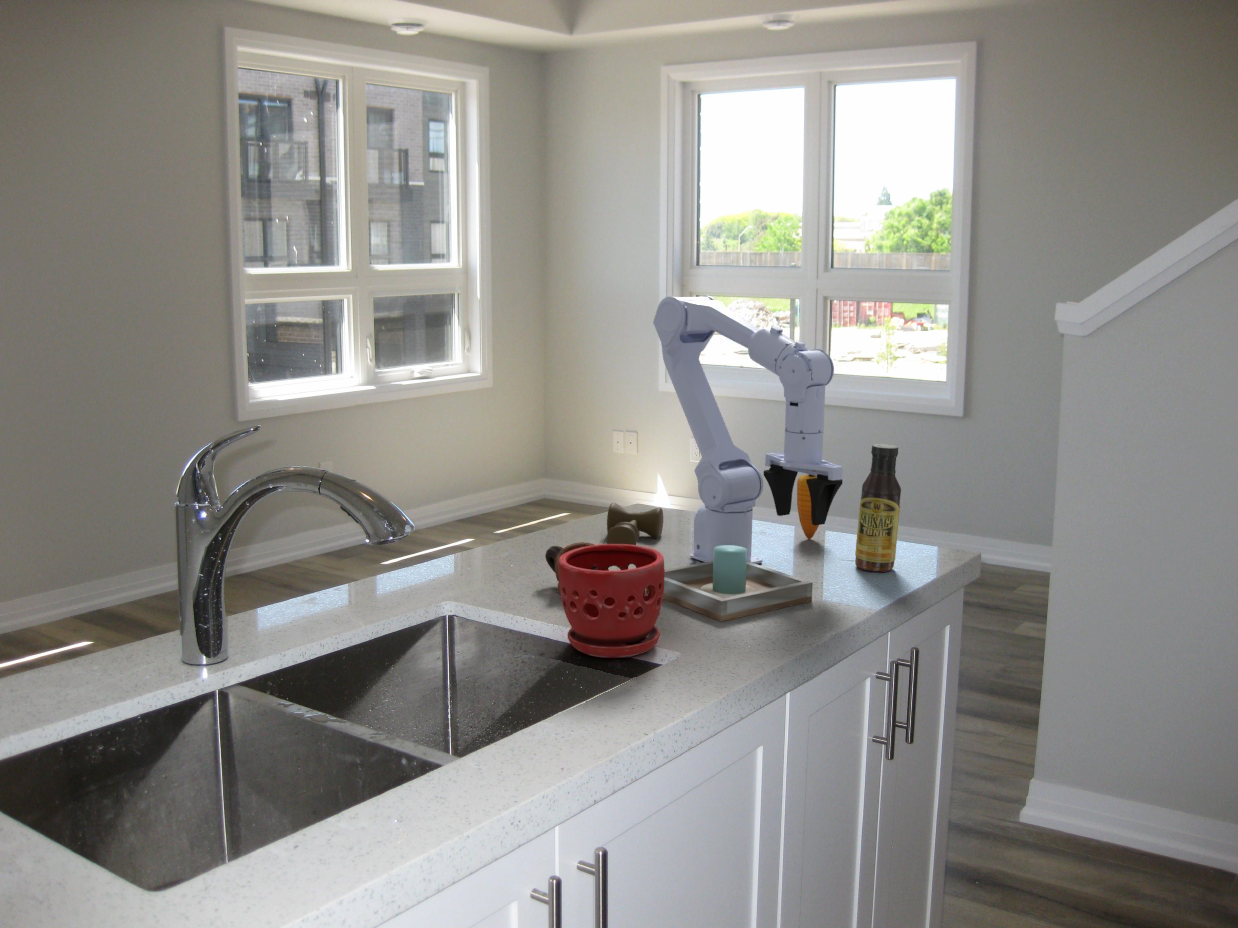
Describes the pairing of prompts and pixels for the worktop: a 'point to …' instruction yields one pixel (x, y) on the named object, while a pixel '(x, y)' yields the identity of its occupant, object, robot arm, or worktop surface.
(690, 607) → the corral
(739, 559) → the teal cylinder
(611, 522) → the kendama
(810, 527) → the carrot
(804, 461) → the robot arm
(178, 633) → the worktop surface
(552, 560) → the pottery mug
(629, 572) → the plant pot
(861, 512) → the sauce bottle
